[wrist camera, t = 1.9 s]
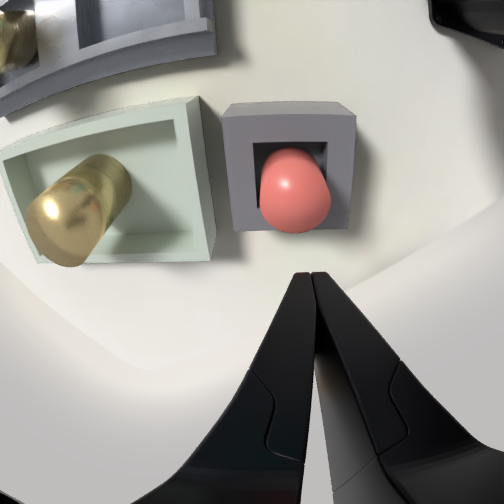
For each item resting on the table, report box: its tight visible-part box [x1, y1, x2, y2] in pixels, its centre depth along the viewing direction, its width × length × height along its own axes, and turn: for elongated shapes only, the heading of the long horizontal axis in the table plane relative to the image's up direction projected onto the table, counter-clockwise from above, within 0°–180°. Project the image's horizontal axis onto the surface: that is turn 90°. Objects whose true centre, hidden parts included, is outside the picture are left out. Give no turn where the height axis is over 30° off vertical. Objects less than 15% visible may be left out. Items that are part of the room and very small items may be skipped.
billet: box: [26, 154, 132, 267], centre depth 16 cm, size 4×4×6 cm
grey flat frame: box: [0, 0, 218, 118], centre depth 11 cm, size 17×10×2 cm, turn 94°
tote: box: [0, 96, 217, 263], centre depth 18 cm, size 14×9×3 cm, turn 94°
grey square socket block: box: [221, 101, 356, 231], centre depth 16 cm, size 6×6×4 cm
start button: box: [260, 147, 331, 233], centre depth 13 cm, size 3×3×3 cm
